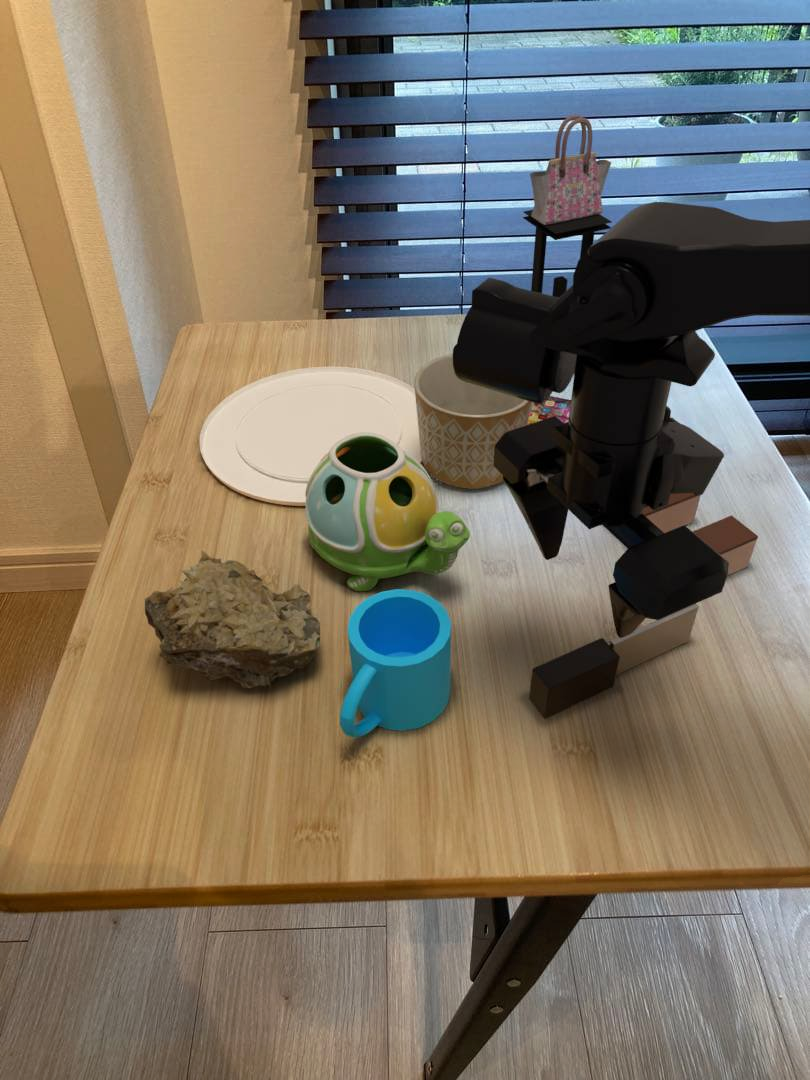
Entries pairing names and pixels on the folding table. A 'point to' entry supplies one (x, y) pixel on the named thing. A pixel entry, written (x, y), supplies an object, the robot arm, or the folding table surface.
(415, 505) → the turtle holder
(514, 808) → the folding table surface
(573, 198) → the handbag
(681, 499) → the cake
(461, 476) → the planter
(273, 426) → the plate
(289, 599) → the mineral specimen
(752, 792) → the folding table surface
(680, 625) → the knife
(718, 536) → the brown block
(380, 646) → the mug
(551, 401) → the smartphone
